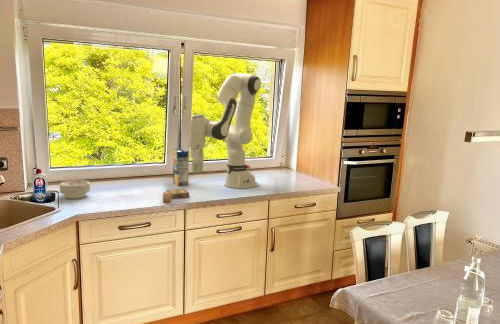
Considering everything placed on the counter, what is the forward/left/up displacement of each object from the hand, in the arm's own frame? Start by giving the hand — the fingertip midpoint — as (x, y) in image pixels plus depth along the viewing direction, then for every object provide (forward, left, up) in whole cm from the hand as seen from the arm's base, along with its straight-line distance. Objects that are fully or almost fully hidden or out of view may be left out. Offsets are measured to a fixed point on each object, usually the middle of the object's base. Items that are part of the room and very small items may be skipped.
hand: (197, 168), depth 214 cm
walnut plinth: (+9, -7, -17) cm, 21 cm away
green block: (0, 0, -2) cm, 2 cm away
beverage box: (-1, -33, -17) cm, 38 cm away
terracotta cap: (+18, +2, -17) cm, 25 cm away
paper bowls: (+62, -24, -17) cm, 69 cm away
